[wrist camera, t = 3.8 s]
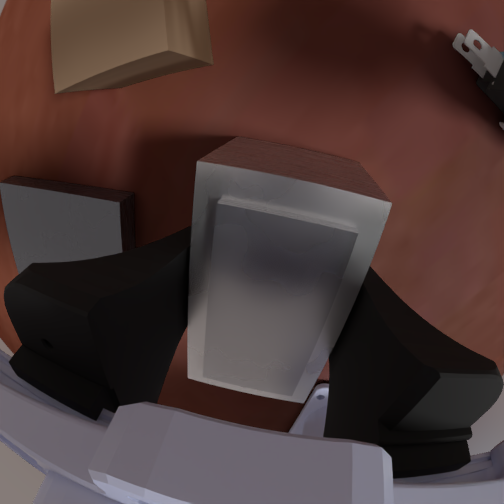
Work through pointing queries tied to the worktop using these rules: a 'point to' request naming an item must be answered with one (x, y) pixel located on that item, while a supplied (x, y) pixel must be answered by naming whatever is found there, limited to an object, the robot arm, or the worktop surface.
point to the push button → (485, 66)
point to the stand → (65, 220)
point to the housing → (276, 263)
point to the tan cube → (126, 41)
